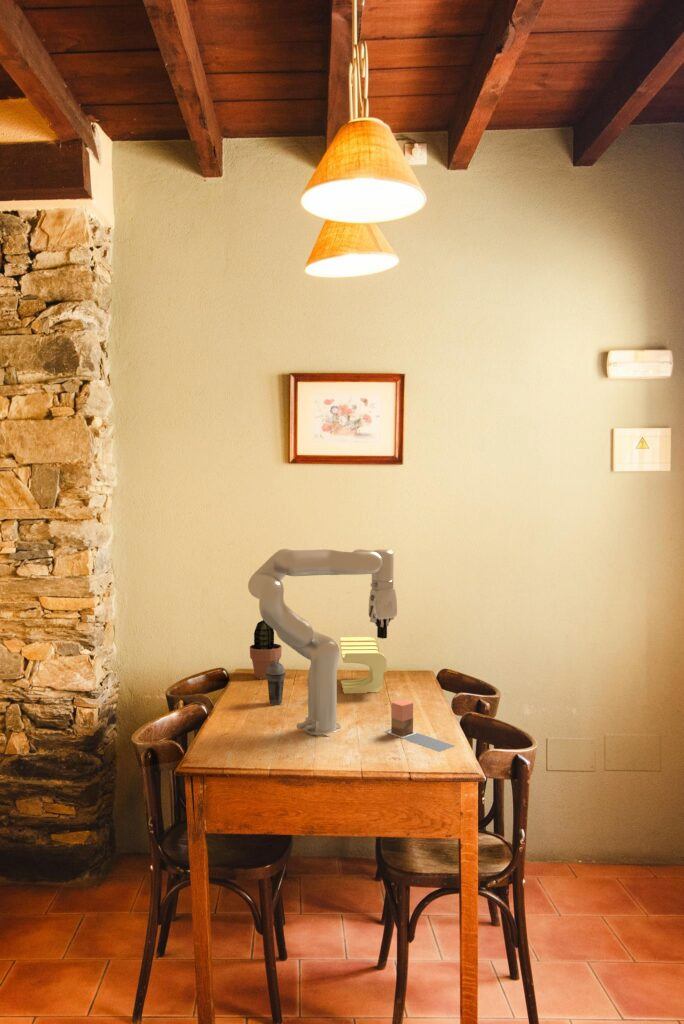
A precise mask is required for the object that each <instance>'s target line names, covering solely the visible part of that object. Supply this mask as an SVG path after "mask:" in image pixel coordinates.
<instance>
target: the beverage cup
mask: <svg viewBox="0 0 684 1024" xmlns="http://www.w3.org/2000/svg"><path fill="white" fill-rule="evenodd" d="M266 674H267V679H266V680H267V689H268V690H267V691H268V701H269V705H270V704H271V705H270V706H273V705H277V706H281V705H282V704H283V703H282V702H283V696H284V695H283V694H284V683H285V682H284V681H285V676H286V670H285V667H284V665H283V664H281V662H279V663H278V662H276V651H275V662H274V663H271V664H270V665H269V666H268V668H267V672H266ZM281 703H282V704H281ZM280 704H281V705H280Z"/></svg>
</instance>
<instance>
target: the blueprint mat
mask: <svg viewBox="0 0 684 1024" xmlns="http://www.w3.org/2000/svg"><path fill="white" fill-rule="evenodd" d="M383 733H385V734H388V735H391V736H394V737H396V738H398V739H399V738H400V739H402V740H405V741H408V742H410V743H412V744H413V743H414V744H417V745H419V746H422V747H425V748H427V749H430V750H432V751H435V752H438V753H440V752H442V751H445V750H448V749H451V748H453V747H455V745H454V744H452V743H448V742H444V741H442V740H439V739H436V738H434V737H430V736H429V735H425V734H421V733H420V732H415V731H413V733H412V734H409V735H406V736H403V737H402V736H399V735H396V734H394V733H391V729H388V730H384V731H383Z"/></svg>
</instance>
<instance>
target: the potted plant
mask: <svg viewBox="0 0 684 1024" xmlns="http://www.w3.org/2000/svg"><path fill="white" fill-rule="evenodd" d="M282 647H283V646H282V645H281V644H278V643H275V630H274V629H272V628H271V627H270V626H269V625H268V624H267V623H265V621H264V620H263V619H262V620H261V621H259V622H257V624H256V626H255V629H254V632H253V644H252V645H250V646H249V658H250V660H251V661H252V666H253V671H254V673H253V674H254V677H255V678H256V677H257V678H256V679H258V678H261V679H260V680H267V674H266V672H267V668H268V666H269V665H270V664H271V663H274V662H275V651H276V662H278V663H280V659H282Z"/></svg>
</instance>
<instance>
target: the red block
mask: <svg viewBox="0 0 684 1024" xmlns="http://www.w3.org/2000/svg"><path fill="white" fill-rule="evenodd" d="M390 709H391V713H390V719H391V718H394V719H397V720H400V721H405V720H409V719H412V718H413V719H414V703H413V702H410V701H408V700H406V699H399V700H395V701H392V702H391V707H390Z"/></svg>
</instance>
